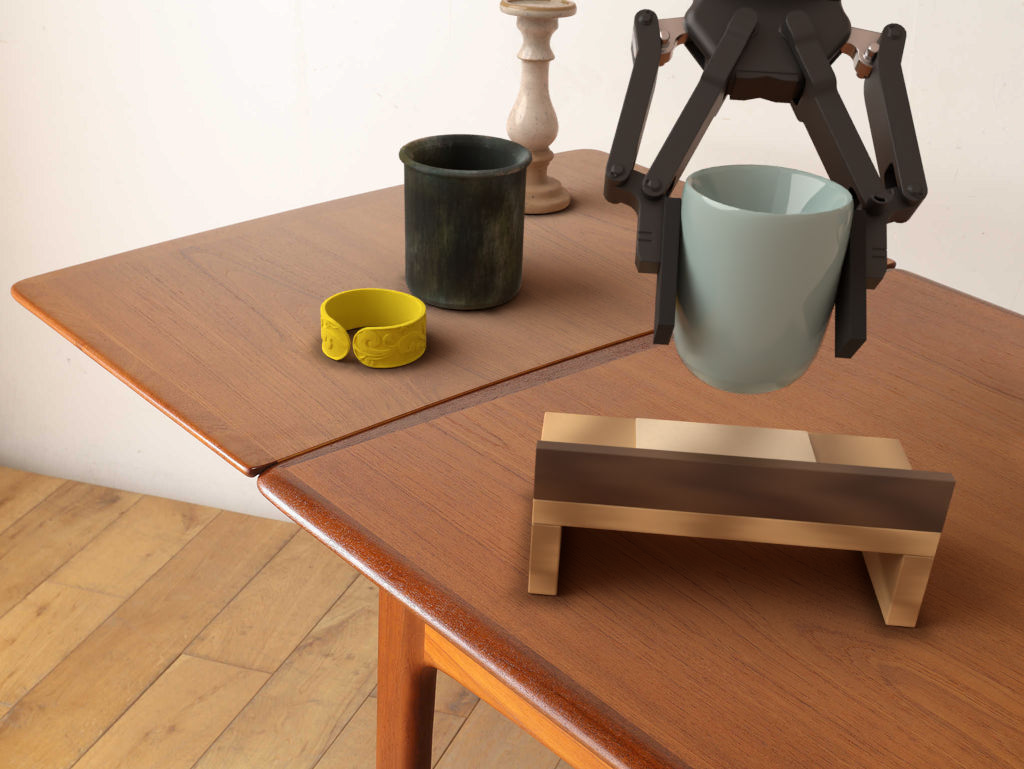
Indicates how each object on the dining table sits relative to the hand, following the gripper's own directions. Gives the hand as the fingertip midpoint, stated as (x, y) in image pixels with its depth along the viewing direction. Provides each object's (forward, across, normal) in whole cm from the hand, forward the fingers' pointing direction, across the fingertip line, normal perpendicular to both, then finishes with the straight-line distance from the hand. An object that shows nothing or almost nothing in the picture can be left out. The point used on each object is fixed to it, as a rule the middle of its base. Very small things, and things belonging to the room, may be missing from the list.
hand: (756, 341), depth 49 cm
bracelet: (-8, +24, -29) cm, 38 cm away
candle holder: (-34, +15, -55) cm, 66 cm away
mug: (-17, +19, -39) cm, 46 cm away
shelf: (+9, 0, -12) cm, 15 cm away
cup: (0, 0, -5) cm, 5 cm away
